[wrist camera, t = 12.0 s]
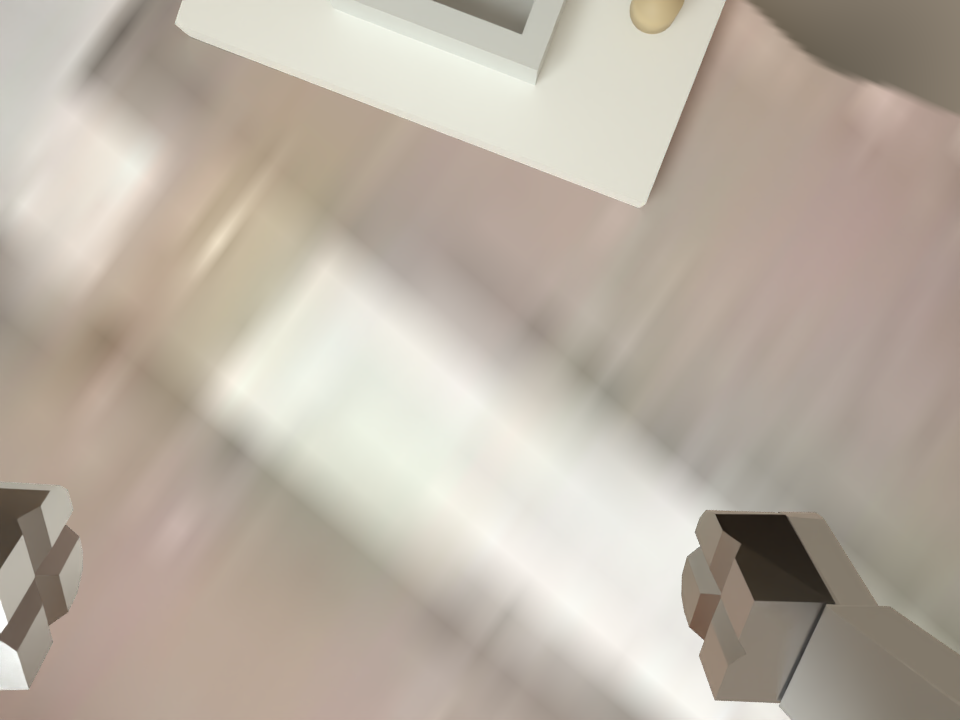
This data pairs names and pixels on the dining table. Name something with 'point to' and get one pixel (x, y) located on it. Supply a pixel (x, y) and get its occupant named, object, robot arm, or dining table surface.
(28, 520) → the robot arm
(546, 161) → the housing
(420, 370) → the dining table surface
